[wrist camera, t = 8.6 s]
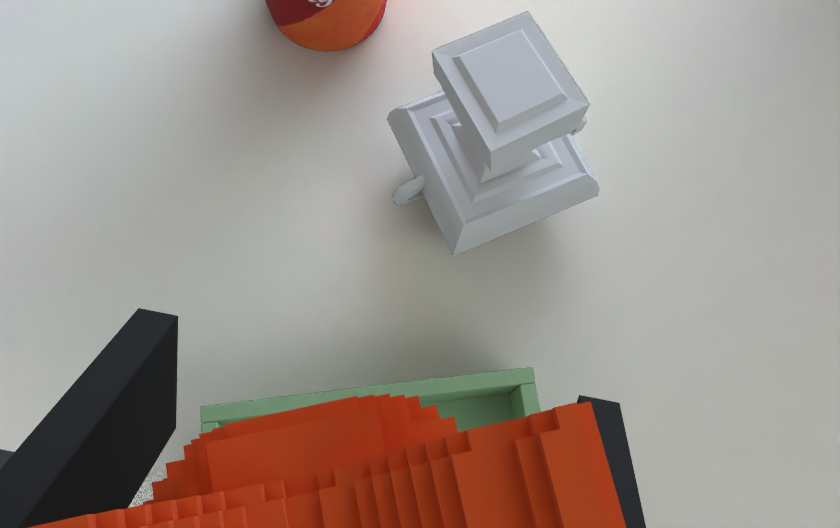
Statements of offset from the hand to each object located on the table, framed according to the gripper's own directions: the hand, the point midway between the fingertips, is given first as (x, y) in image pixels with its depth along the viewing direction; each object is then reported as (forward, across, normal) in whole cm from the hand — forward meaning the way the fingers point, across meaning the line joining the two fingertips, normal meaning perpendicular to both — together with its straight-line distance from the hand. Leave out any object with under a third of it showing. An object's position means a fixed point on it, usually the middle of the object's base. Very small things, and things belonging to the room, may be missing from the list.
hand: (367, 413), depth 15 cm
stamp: (+20, +2, -2) cm, 21 cm away
